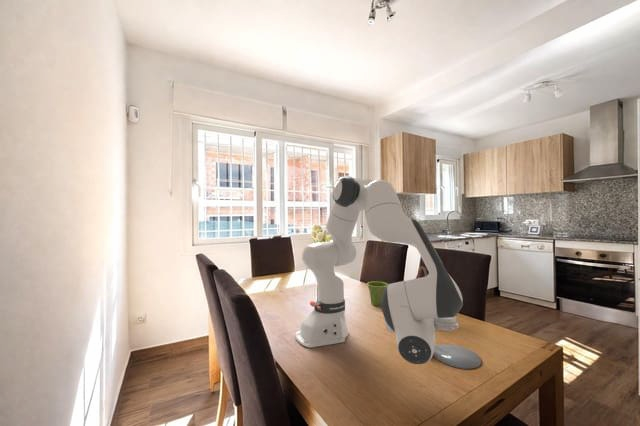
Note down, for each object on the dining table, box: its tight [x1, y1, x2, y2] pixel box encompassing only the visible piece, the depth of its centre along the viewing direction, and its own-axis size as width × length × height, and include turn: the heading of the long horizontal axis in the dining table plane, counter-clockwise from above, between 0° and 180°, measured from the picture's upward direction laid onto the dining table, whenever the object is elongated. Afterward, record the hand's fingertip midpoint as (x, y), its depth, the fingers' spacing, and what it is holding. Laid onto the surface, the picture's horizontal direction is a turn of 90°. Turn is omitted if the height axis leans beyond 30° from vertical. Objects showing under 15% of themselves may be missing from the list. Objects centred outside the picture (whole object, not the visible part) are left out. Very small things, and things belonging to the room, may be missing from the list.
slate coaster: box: [433, 344, 482, 370], centre depth 91 cm, size 15×15×1 cm
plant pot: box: [366, 281, 389, 307], centre depth 147 cm, size 12×12×11 cm
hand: (419, 307), depth 85 cm, fingers open, 8 cm apart
